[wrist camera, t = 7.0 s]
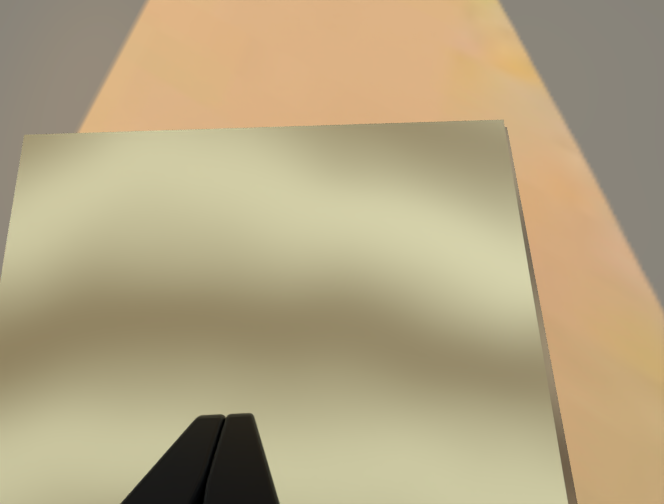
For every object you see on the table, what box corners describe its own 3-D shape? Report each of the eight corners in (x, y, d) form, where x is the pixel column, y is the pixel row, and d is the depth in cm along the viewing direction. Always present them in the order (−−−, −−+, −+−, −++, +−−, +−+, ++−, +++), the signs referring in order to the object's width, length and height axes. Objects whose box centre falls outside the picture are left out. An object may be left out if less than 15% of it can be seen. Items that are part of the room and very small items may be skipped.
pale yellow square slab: (559, 614, 12) (591, 644, 10) (-18, 646, 12) (-66, 681, 10) (487, 145, 16) (503, 120, 14) (52, 159, 15) (24, 135, 14)
